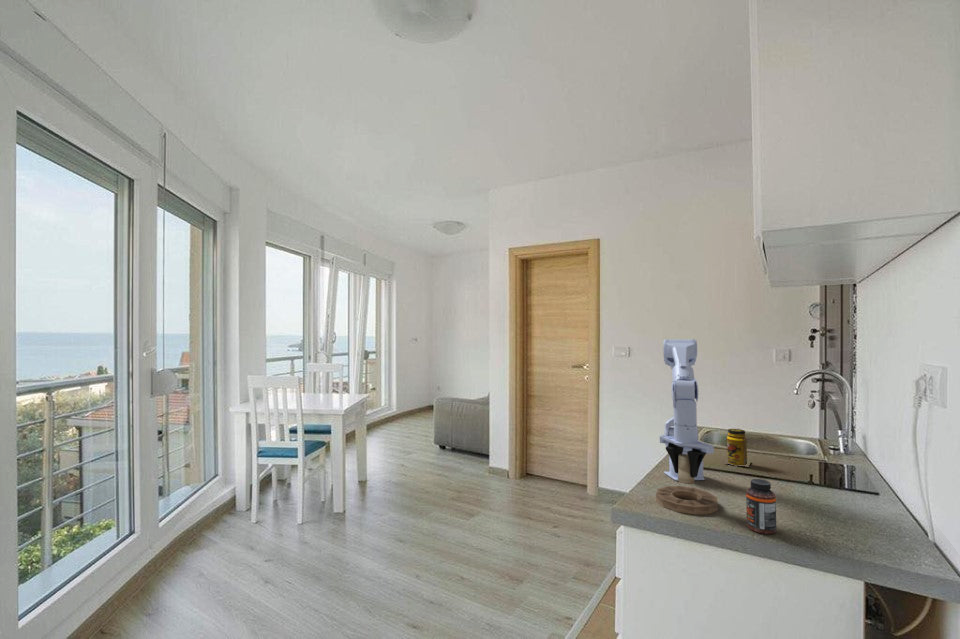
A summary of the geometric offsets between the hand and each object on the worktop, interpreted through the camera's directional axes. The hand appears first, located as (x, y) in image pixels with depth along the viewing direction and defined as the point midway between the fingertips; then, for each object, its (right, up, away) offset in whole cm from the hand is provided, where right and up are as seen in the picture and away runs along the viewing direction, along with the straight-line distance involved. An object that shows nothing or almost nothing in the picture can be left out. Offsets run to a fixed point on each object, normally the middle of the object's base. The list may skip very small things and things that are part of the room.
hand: (685, 474), depth 122 cm
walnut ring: (0, -8, 0) cm, 8 cm away
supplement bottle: (+10, -8, -16) cm, 21 cm away
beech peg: (0, -2, 0) cm, 2 cm away
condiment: (+35, -9, +35) cm, 50 cm away
